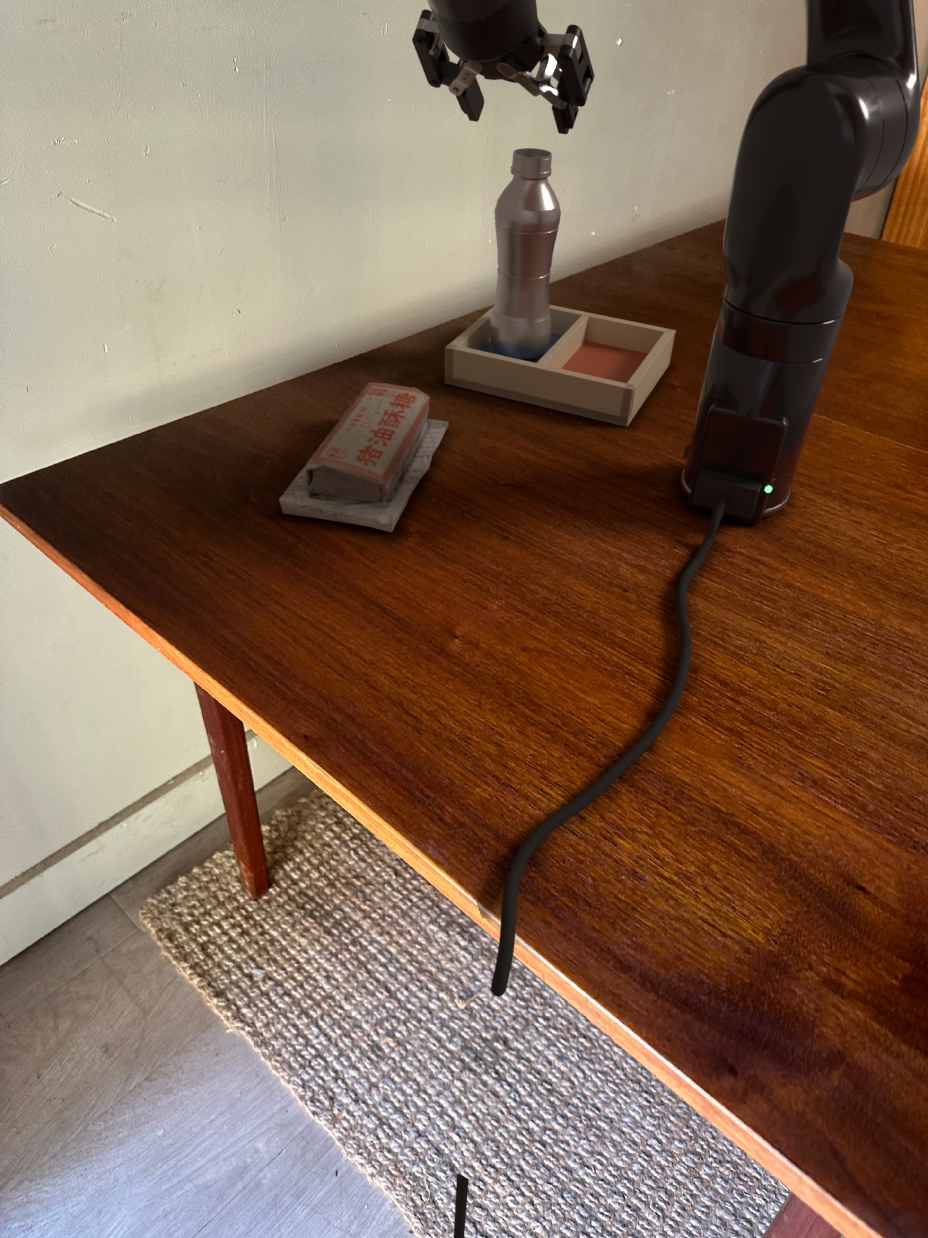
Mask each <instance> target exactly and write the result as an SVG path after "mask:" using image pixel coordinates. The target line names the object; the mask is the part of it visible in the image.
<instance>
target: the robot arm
mask: <svg viewBox="0 0 928 1238" xmlns="http://www.w3.org/2000/svg"><path fill="white" fill-rule="evenodd" d="M427 3H428V5H429V8H430V9H427V8H425V9H423V10H421V12H420V15H419V19H418V22H417V24H416V27H415V30H414V33H413V36H412V39H411V41H412V44H413V48H414V50H415V52H416V55H417V58H418V60H419V63H420V66H421V68H422V70H423V73H424V76H425V78H426V81H427V83H428V85H429V86H431V87H432V88H435V89H439V88H441V87H442V85H443V86H445V87H448V91H449V92H450V93H451V94H452V95H454V96H455V98H456V101H457V102H458V105H459V107H460V110H461V111H462V113H464V115H467V118H468V120H469V122H475V123H478V122H479V121H480V118H481V116H482V112H483V109H484V106H485V97H484V95H483V92H482V89H481V86H480V84H479V81H478V79H477V76H478V75H480V76H482V77H483V78H484V80H489V81H499V80H503V81H506V82H507V83H508V82H509V83H515V84H519V86H521V87H522V88H523V89H524V90H526V92H528V93H529V94H530V95H532V96H533V97H535V98H536V97H538V96H541V97H543V99H545V100H546V101H547V102H548V103H549V104H551V111H552V115H553V119H554V122H555V125H556V128H557V132H558V134H561V135H569V131H570V130H573V129H574V126H575V123H576V120H577V117H578V114H579V110H580V109H579V108H581V107H582V108H583V107H585V105H586V103H587V100H588V96H589V92H590V89H591V86H592V84H593V82H594V80H595V75H596V74H595V72H594V69H593V65H592V61H591V58H590V54H589V50H588V47H587V44H586V39H585V36H584V32H583V30H582V28H581V27H580V26H579V25H577V24H569V25H568V26H567V27H566V30H565V33H564V34H562V33H548V31H547V29H546V28H545V26H544V25H543V24H542V23H541V22H540V20H539V17H538V8H537V7H538V3H537V0H427ZM803 10H804V34H805V35H804V64H801V65H798V66H795V67H792V68H790V69H789V68H788V69H787V70H785V71H784V72H781V73H780V74H778V75H777V76H775V77H774V78H773V79H772V80H771V81H770V82H769V83H767V85H766V86H765V87H764V88H763V89H762V90H761V92H760V93H759V94H758V96H757V97H756V99H755V101H754V103H753V104H752V106H751V109H750V111H749V113H748V115H747V118H746V120H745V123H744V126H743V129H742V132H741V136H740V141H739V144H738V148H737V154H736V158H735V163H734V169H733V175H732V181H731V187H730V194H729V200H728V206H727V211H726V218H725V225H724V230H723V236H722V237H723V238H722V258H723V264H724V269H725V280H724V286H723V290H722V295H721V300H720V305H719V308H718V314H717V318H716V323H715V327H714V330H713V335H712V340H711V344H710V349H709V354H708V359H707V363H706V368H705V371H704V377H703V382H702V386H701V390H700V394H699V395H700V396H699V400H698V404H697V409H696V412H695V418H694V423H693V426H692V433H691V437H690V441H689V444H687V445H685V447H684V451H683V456H682V461H684V460H685V459H686V460H685V465H684V468H683V470H682V472H681V476H680V477H681V478H680V488H681V491H682V493H683V494H684V496H686V498H687V499H688V502H687V507H689V508H692V509H696V510H699V511H703V512H707V513H710V514H712V515H711V517H710V520H709V523H708V526H707V529H706V532H705V535H704V537H703V540H702V543H701V544H700V547H699V548H698V550H697V552H696V554H695V555H694V556H693V558H692V559H691V561H690V562H689V564H688V565H687V566H686V567H685V569H684V570H683V572H682V573H681V576H680V577H679V580H678V582H677V586H676V591H675V599H674V601H675V602H674V604H675V614H676V619H677V625H678V629H679V644H680V645H679V654H678V660H677V665H676V671H675V674H674V675H675V676H674V680H673V682H672V686H671V687H670V691H669V693H668V695H667V698H666V700H665V702H664V704H663V705H662V708H661V709H660V711H659V712H658V714H657V716H656V717H655V719H654V720H653V722H652V723H651V725H650V726H649V727H648V728H647V729H646V731H645V732H644V733H643V735H642V736H641V737H640V738H639V739H638V740H637V741H636V742H635V743H634V744H633V745H632V746H631V747H629V749H628V750H627V751H626V752H625V753H624V754H623V755H622V756H621V757H620V758H618V760H616V761H615V762H614V763H613V764H612V765H611V766H610V767H609V768H608V769H607V770H606V771H605V772H603V774H601V776H599V777H598V778H597V779H596V780H595V781H594V782H593V783H592V784H591V785H589V787H588V788H586V789H585V790H584V791H583V792H581V793H580V794H578V795H577V796H576V797H575V798H573V799H572V800H570V801H569V802H567V803H566V804H564V805H563V806H562V807H560V808H559V809H558V810H556V811H555V812H554V813H552V814H551V815H549V816H548V817H547V818H546V819H544V820H542V822H541V823H539V825H538V826H536V827H535V828H534V829H533V830H532V832H530V833H529V835H528V836H527V837H526V839H525V840H524V841H523V843H522V844H521V845H520V847H519V849H518V850H517V852H516V854H515V855H514V857H513V859H512V861H511V863H510V865H509V868H508V871H507V874H506V877H505V881H504V885H503V890H502V891H503V892H502V898H501V909H500V911H501V912H500V928H499V932H500V933H499V941H498V949H497V955H496V961H495V962H496V963H495V966H494V971H493V975H492V980H491V984H490V992H491V994H492V995H493V996H494V997H497V998H498V997H501V996H503V995H504V994H505V993H506V991H507V987H508V983H509V978H510V975H511V970H512V964H513V959H514V951H515V944H516V931H517V930H516V929H517V928H516V927H517V907H518V905H517V904H518V893H519V887H520V883H521V879H522V876H523V873H524V870H525V869H526V867H527V864H528V862H529V861H530V859H531V858H532V856H533V854H534V853H535V852H536V850H537V849H538V847H539V846H540V845H541V844H542V843H543V842H544V841H545V840H546V839H547V838H548V837H549V836H550V835H551V834H552V833H553V832H554V831H556V830H557V829H558V828H559V827H561V826H562V825H563V824H564V823H566V822H567V821H569V820H570V819H572V818H573V817H575V816H576V815H577V814H579V812H582V811H583V810H584V809H586V808H587V807H588V806H589V805H591V804H592V803H593V802H594V801H595V800H597V799H598V798H599V797H600V796H601V795H603V793H604V792H606V791H607V790H608V789H609V788H610V787H611V786H612V785H613V784H614V783H615V782H616V781H617V780H618V779H619V778H620V777H621V776H623V774H624V773H625V772H626V771H627V770H629V768H631V767H632V766H633V765H634V764H635V763H636V762H637V761H638V760H639V759H640V758H641V757H642V756H643V755H644V754H645V753H646V752H647V751H648V749H649V748H650V747H651V746H652V745H653V744H654V742H655V741H656V740H657V739H658V737H659V736H660V735H661V733H663V730H664V729H665V727H666V726H667V724H668V722H669V721H670V719H671V718H672V716H673V714H674V711H675V710H676V708H677V706H678V704H679V701H680V699H681V696H682V694H683V692H684V689H685V685H686V683H687V678H688V674H689V668H690V663H691V657H692V655H691V654H692V643H693V642H692V641H693V640H692V639H693V638H692V631H691V624H690V620H689V615H688V614H689V613H688V610H687V609H688V608H687V593H688V588H689V584H690V581H691V579H692V578H693V577H694V575H695V574H696V572H697V571H698V570H699V569H700V567H701V565H703V563H704V561H705V559H706V558H707V556H708V554H709V552H710V551H711V548H712V545H713V543H714V540H715V538H716V535H717V532H718V528H719V526H720V523H721V520H722V518H723V517H726V518H730V519H734V520H736V521H737V520H738V521H741V522H745V523H748V524H753V525H760V523H761V521H762V519H765V518H769V517H772V516H775V515H777V514H779V513H780V512H782V511H783V510H784V509H785V508H786V506H787V504H788V503H789V499H790V496H791V488H792V485H793V482H794V478H795V475H796V472H797V469H798V466H799V461H800V459H801V455H802V452H803V448H804V447H805V443H806V439H807V437H808V433H809V429H810V426H811V424H812V421H813V418H814V417H813V416H814V413H815V410H816V408H817V407H816V406H817V403H818V401H819V397H820V395H821V390H822V387H823V384H824V381H825V378H826V374H827V371H828V369H829V365H830V362H831V358H832V355H833V352H834V350H835V346H836V343H837V340H838V337H839V334H840V331H841V327H842V324H843V321H844V317H845V314H846V311H847V307H848V304H849V302H850V297H851V294H852V290H853V287H854V277H855V276H854V273H853V271H852V269H851V267H850V266H849V265H848V264H847V263H846V262H845V261H843V260H842V259H840V258H839V256H840V250H841V247H842V240H843V237H844V233H845V229H846V224H847V221H848V216H849V212H850V209H851V205H852V203H854V202H858V201H861V200H863V199H866V198H869V197H870V196H873V195H876V194H877V193H880V192H881V191H882V190H884V189H885V188H886V187H888V186H889V185H890V184H891V183H892V182H894V180H896V179H897V177H898V176H899V175H900V174H901V172H902V171H903V170H904V168H905V166H906V165H907V164H908V162H909V160H910V158H911V156H912V153H913V151H914V147H915V145H916V143H917V138H918V135H919V131H920V124H921V108H922V107H921V105H922V103H921V101H922V100H921V99H922V98H921V85H920V84H921V79H920V69H919V67H920V66H919V57H918V56H919V55H918V44H917V31H916V18H915V17H916V16H915V6H914V0H803ZM448 50H449V51H450V52H451V53H452V54H454V55H455V56H456V57H457V58H458V60H457V63H456V62H454V61H451V59H450V55H449V53H448ZM538 64H539V67H538V69H537V72H536V75H533V74H532V72H533V71H534V69H535V68H536V66H537V65H538ZM552 78H553V79H554V80H555V81H557V83H556V84H557V85H556V87H555V86H553V85H552V82H551V80H552ZM469 1183H470V1180H469V1178H468V1177H467V1176H464V1175H463V1174H460V1173H459V1172H457V1173H456V1183H455V1185H456V1187H455V1200H454V1201H455V1204H454V1205H455V1206H454V1223H453V1238H465V1235H466V1234H465V1233H466V1220H467V1207H468V1206H467V1205H468V1195H469V1194H468V1193H469Z"/></svg>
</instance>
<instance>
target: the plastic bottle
mask: <svg viewBox="0 0 928 1238" xmlns="http://www.w3.org/2000/svg"><path fill="white" fill-rule="evenodd" d="M552 160H553V153H552V152H551V151H550V150H547V149H542V148H535V147H525V148H524V147H523V148H517V149H514V150H513V152H512V161H511V166H510V174H511V175H513V176H512V178H511V180H510V182H509V183H508V184H507V185H506V186H505V188H504V189H503V190H502V192H501V193H500V195H499V197H498V198H497V200H496V203H495V207H494V210H493V211H494V227H495V238H496V248H497V251H496V252H497V253H496V254H497V258H496V259H497V262H496V263H497V272H496V273H497V279H496V287H495V295H494V301H493V302H494V303H493V306H494V308H493V311H492V315H491V320H490V326H489V333H490V341H491V344H492V346H493V347H494V349H495V350H496V352H498V353H499V354H501V355H503V356H506V357H511V358H516V359H529V358H534V357H537V356H540V355H541V354H542V353H543V352H544V351H545V350H546V348H547V347H548V345H549V341H550V337H551V332H552V330H551V316H550V312H549V305H550V281H551V279H550V278H551V269H552V264H553V263H552V262H553V257H554V251H555V245H556V241H557V237H558V231H559V229H560V228H559V227H560V223H561V216H562V211H561V206H560V201H559V199H558V197H557V195H556V193H555V191H554V189H553V188H552V186H551V184H550V182H549V177H551V176H552V171H553V169H552Z"/></svg>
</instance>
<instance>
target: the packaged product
mask: <svg viewBox="0 0 928 1238" xmlns="http://www.w3.org/2000/svg"><path fill="white" fill-rule="evenodd" d="M430 403H431V398H430V396H429V395H428V393H425V392H423V391H422V390H419V388H417V387H414V386H411V387H409V386H405V385H397V384H391V383H381V382H375V381H373V382H372V381H371V382H367V383H366V385H365V387H364V388H363V389H362V390H361V391H360V393H359V394H358V395H357V396H356V397H355V399H354V401H353V402H352V403H351V404H350V405H348V407H347V409H346V411H344V413H343V415H342V416H341V417H340V418H339V420H338V421H337V422H336V424H335V425H334V426H333V428H332V429H331V431H330V432H329V433H328V434H327V436H326V437H325V439H323V441H322V442H321V444H320V445H319V447H318V448H317V449H316V450H315V451H314V452H313V454H312V455H311V457H310V458H309V460H308V461H307V462H306V464H305V466H304V467H303V468H302V469H301V470H300V471H299V472H298V474H297V475H296V476H295V478H293V480H292V481H291V482H290V485H289V486H288V487H287V488H286V490H285V492H283V494H282V495H281V496H280V497H279V500H278V501H279V505H280V508H281V510H282V513H283V514H286V515H291V516H292V515H293V516H298V517H299V516H300V517H304V518H305V517H306V518H312V519H319V520H325V521H326V520H327V521H331V522H332V521H333V522H340V523H346V524H350V525H357V526H364V527H368V528H371V529H377V530H381V531H384V532H389V533H392V532H393V531H394V529H395V527H396V525H397V523H398V521H399V520H400V517H401V515H402V514H403V511H404V510H405V507H406V506H407V504H408V502H409V500H410V497H411V495H412V494H413V492H414V491H415V489H416V487H417V485H418V484H419V482H420V481H421V479H422V478H423V476H424V475H425V474H426V473H427V471H429V469H430V467H431V466H430V465H431V462H432V458H433V455H434V454H435V452H436V451H437V449H438V447H439V445H440V443H441V442H442V440H443V437H444V435H445V433H446V431H447V429H448V427H449V421H448V420H447V421H446V420H439V419H435V418H434V419H433V418H428V414H429V411H430Z"/></svg>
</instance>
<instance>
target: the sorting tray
mask: <svg viewBox="0 0 928 1238" xmlns="http://www.w3.org/2000/svg"><path fill="white" fill-rule="evenodd" d="M493 308H494V305H493V306H492V307H491V308H490V309H489V310H488V311H486V312H485V313H484V314H483V315H482V316H480V317H479V318H478V319H477V320H476V321H475V322H473V323H472V324H471V325H470V326H468V328H466V329H465V330H464V331H463V332H461V333H460V334H459V335H458V336H457V337H456V338H454V339H453V340H452V341H451V342H450V343H448V344H447V345H445V347H444V348H445V349H444V350H445V351H444V353H445V355H444V384H447V385H450V386H454V387H459V388H463V389H467V390H471V391H476V392H480V393H484V394H489V395H492V396H496V397H501V398H506V399H509V400H514V401H517V402H522V403H526V404H530V405H535V406H538V407H543V408H546V409H550V410H555V411H559V412H564V413H568V414H571V415H576V416H580V417H584V418H589V419H593V420H596V421H601V422H605V423H610V424H613V425H617V426H622V427H628V426H629V425H630V423H631V422H632V421H633V419H634V417H635V416H636V414H637V413H638V411H639V410H640V408H641V407H642V405H644V403H645V401H646V400H647V398H648V397H649V395H650V394H651V392H652V391H653V390H654V388H655V386H656V385H657V383H658V382H659V381H660V379H661V378H662V377H663V375H664V374H665V372H666V370H667V369H668V368H669V366H670V363H671V358H672V353H673V348H674V343H675V338H676V332H677V330H675V329H672V328H666V327H661V326H656V325H652V324H646V323H642V322H637V321H632V320H627V319H622V318H617V317H612V316H607V315H603V314H597V313H592V312H588V311H582V310H577V309H572V308H568V307H563V306H558V305H555V304H554V305H553V304H549V312H550V316H551V330H552V332H551V337H550V341H549V345H548V347H547V348H546V350H545V351H544V352H543V353H542V354H541V355H540V356H537V357H534V358H529V359H516V358H511V357H506V356H503V355H501V354H499V353H498V352H496V350H495V349H494V347H493V346H492V344H491V341H490V333H489V326H490V320H491V315H492V311H493Z"/></svg>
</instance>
